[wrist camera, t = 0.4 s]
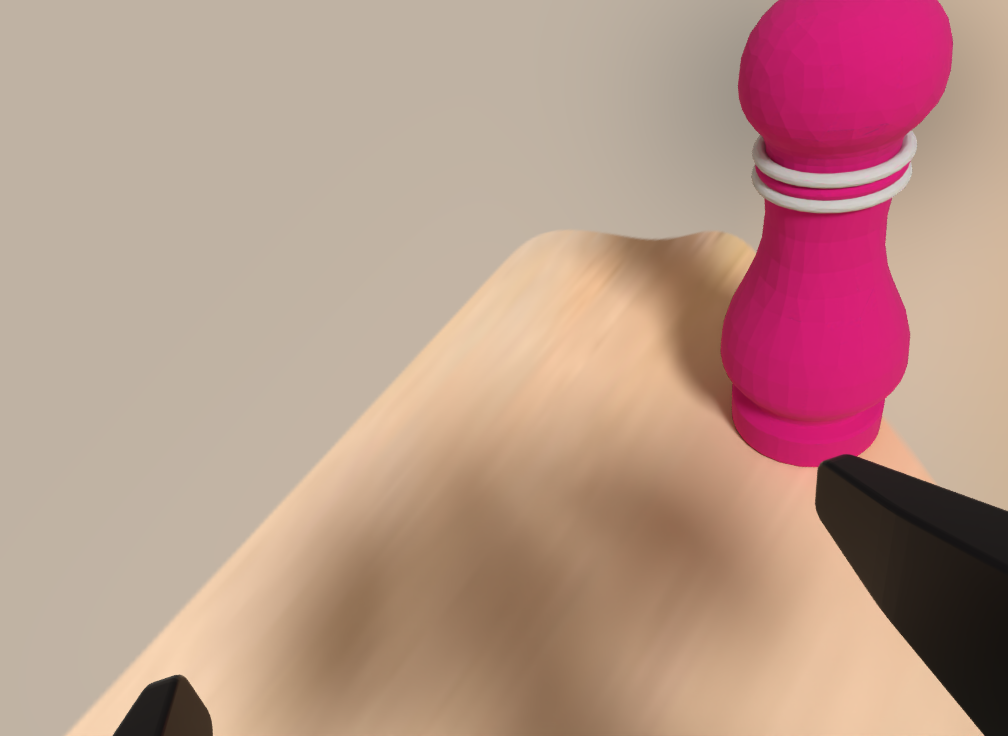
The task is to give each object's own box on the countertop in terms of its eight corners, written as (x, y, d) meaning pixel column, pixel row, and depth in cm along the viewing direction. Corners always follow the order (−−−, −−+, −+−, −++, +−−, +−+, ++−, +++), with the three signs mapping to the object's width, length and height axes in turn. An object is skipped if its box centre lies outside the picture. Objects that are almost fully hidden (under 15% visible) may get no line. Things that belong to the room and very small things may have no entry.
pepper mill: (753, 493, 30) (773, -18, 17) (701, 380, 35) (686, -73, 22) (925, 458, 29) (1086, -98, 16) (846, 349, 35) (918, -134, 22)
